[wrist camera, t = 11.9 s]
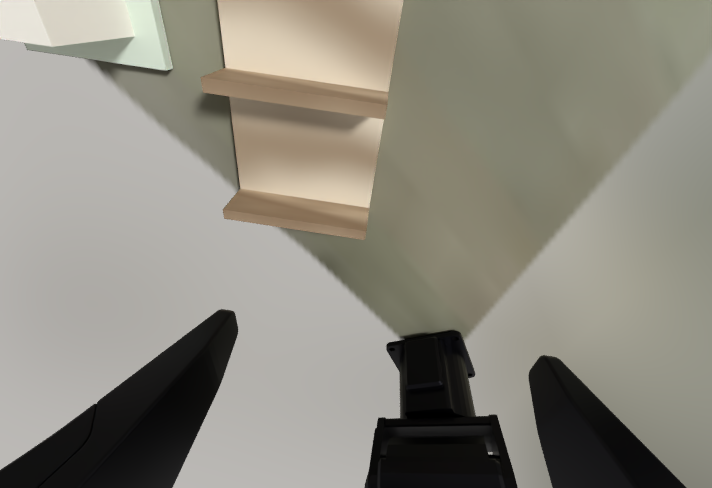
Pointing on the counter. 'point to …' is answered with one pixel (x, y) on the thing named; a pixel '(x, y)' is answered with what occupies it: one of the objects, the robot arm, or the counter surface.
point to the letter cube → (64, 21)
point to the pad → (126, 41)
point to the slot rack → (306, 107)
